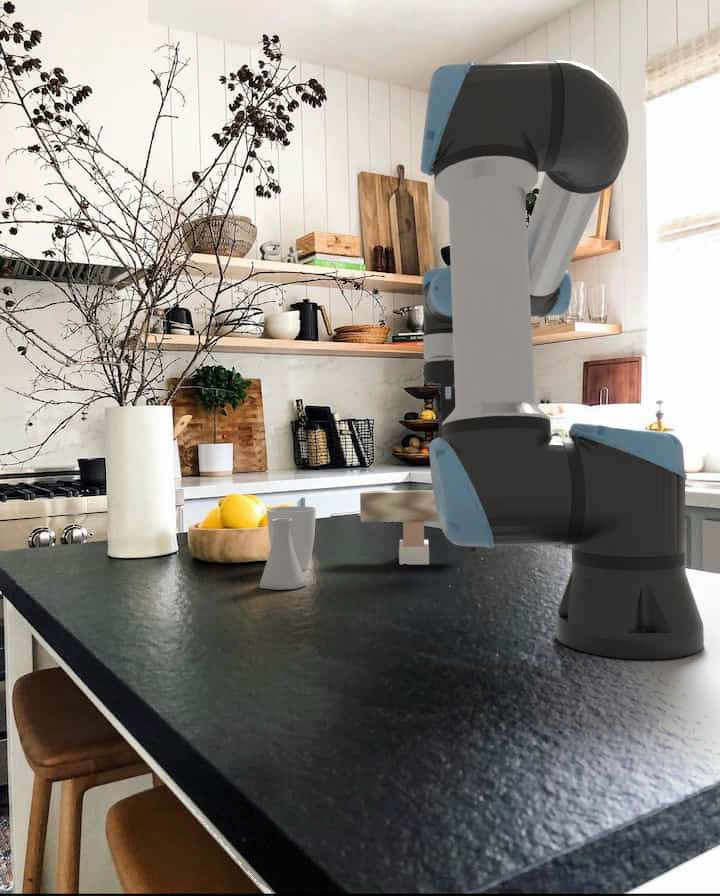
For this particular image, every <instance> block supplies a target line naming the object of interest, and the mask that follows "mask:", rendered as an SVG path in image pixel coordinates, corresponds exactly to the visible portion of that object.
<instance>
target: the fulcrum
mask: <svg viewBox="0 0 720 896" xmlns="http://www.w3.org/2000/svg"><path fill="white" fill-rule="evenodd" d="M402 534H403V535H402V536H403V538H402V539H400V540H399V544H398V545H399V546H398V555H399V556H398V561H399V564H400V565H402V566H403V564H407V565H430V548H429V547H430V545H429V539H425V521H416V522H402Z"/></svg>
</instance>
